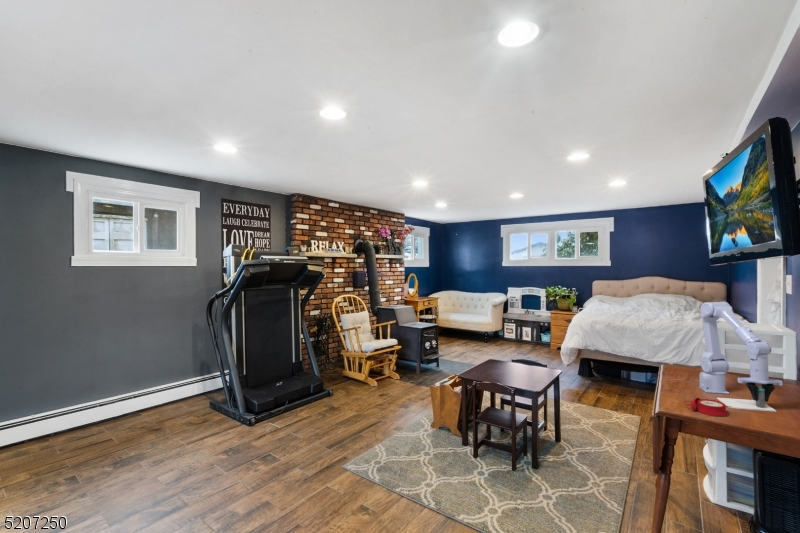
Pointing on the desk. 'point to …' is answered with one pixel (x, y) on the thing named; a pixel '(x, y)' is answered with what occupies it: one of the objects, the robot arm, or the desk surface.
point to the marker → (761, 397)
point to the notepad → (744, 404)
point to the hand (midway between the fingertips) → (760, 400)
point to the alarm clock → (709, 407)
